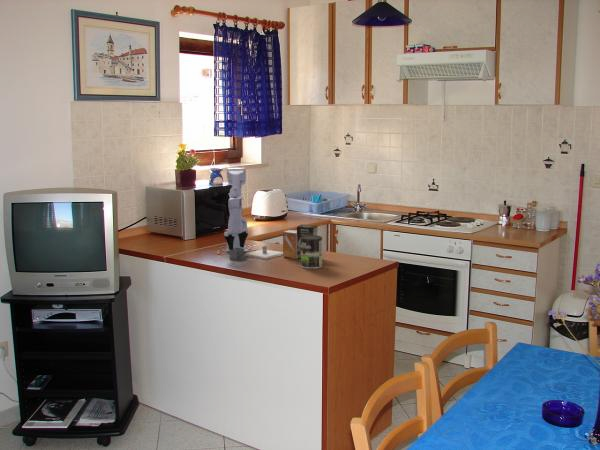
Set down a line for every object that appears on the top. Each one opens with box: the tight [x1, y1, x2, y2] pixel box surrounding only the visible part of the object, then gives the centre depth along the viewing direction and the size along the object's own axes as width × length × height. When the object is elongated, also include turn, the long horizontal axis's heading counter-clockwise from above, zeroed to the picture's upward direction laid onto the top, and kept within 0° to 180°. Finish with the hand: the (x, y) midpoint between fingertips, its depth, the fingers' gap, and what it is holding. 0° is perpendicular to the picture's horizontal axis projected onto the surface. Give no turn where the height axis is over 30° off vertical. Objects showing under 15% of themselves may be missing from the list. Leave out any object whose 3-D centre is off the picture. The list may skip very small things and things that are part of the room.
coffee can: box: [300, 235, 323, 270], centre depth 326 cm, size 10×10×14 cm
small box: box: [282, 229, 298, 260], centre depth 347 cm, size 8×6×13 cm
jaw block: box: [229, 248, 247, 261], centre depth 345 cm, size 8×5×5 cm, turn 50°
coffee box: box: [296, 224, 319, 259], centre depth 344 cm, size 9×6×16 cm
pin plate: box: [244, 245, 283, 260], centre depth 352 cm, size 14×14×5 cm
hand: (236, 248), depth 345 cm, fingers open, 7 cm apart
